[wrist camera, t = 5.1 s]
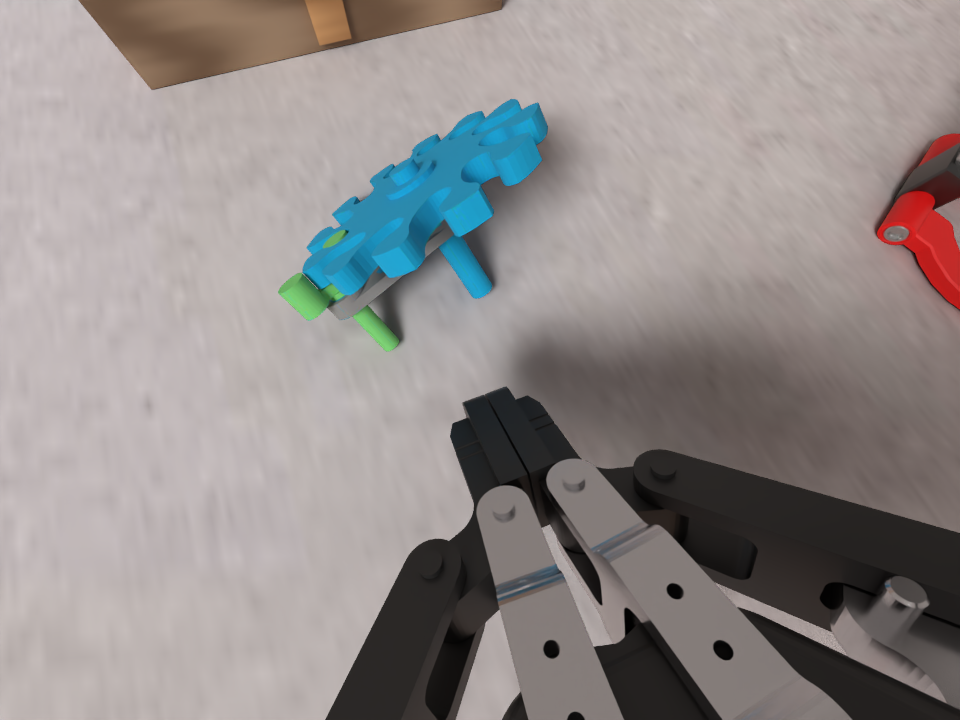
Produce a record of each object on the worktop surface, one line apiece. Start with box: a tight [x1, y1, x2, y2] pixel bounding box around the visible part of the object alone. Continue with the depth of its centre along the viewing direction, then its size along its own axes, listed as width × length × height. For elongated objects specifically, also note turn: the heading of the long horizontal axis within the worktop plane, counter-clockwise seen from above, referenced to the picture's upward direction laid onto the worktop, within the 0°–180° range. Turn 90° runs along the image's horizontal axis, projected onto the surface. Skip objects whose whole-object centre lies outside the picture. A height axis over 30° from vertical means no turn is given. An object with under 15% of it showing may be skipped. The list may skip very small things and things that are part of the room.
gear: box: [278, 99, 548, 351], centre depth 16 cm, size 11×6×10 cm
